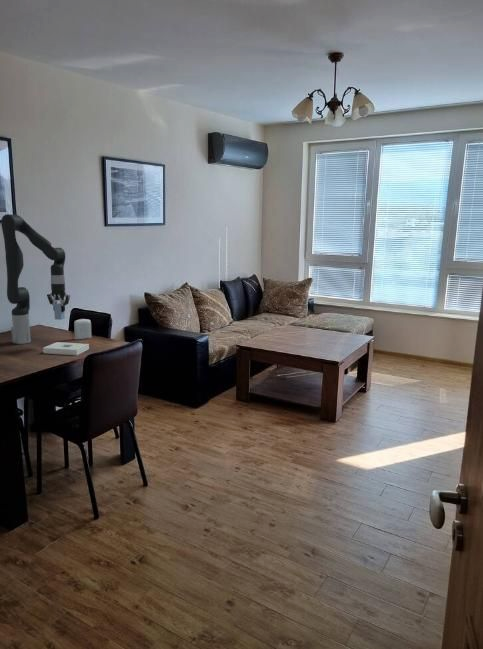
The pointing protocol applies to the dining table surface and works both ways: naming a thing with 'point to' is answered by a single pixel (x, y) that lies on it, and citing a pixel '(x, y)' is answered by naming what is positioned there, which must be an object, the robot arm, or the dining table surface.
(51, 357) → the dining table surface
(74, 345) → the socket
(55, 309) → the peg
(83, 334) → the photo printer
